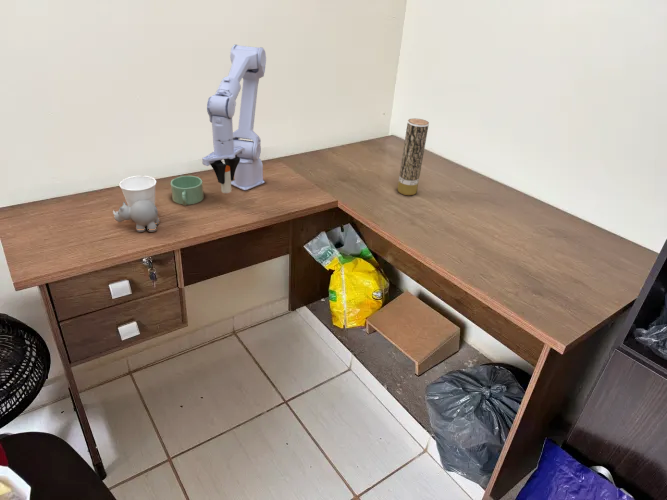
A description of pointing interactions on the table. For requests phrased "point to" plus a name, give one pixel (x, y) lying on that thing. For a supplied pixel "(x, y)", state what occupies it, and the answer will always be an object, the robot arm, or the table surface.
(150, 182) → the cup
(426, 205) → the table surface
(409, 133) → the paper tube
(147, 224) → the chubby cartoon animal
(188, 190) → the mug
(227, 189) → the glue stick
